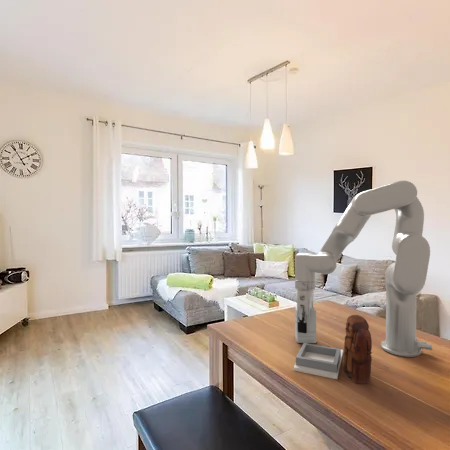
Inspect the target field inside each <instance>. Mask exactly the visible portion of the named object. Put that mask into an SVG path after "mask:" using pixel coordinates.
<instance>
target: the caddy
mask: <svg viewBox="0 0 450 450" xmlns="http://www.w3.org/2000/svg"><path fill="white" fill-rule="evenodd" d="M343 357H344V349H341V348H337V347H332V346H331V347H330V346H325V345H320V344H315V343H302V345H301V347H300V349H299V351H298V353H297V354H296V356H295V363H294V366H293V371H294V372H300V373H305V374H309V375H314V376H319V377H324V378H329V379H334V380H338V378H339V373H340V370H341V364H342V360H343Z"/></svg>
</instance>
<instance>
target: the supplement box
mask: <svg viewBox="0 0 450 450" xmlns="http://www.w3.org/2000/svg"><path fill="white" fill-rule="evenodd" d="M298 313H299V312H298ZM303 314H305V311H303ZM298 317H299V315H298V314H297V304H295V305H294V336H295V337H294V338H295V340H296V343H297V344H299V343H301V344H303V343H308V344H316V343H317V311H316V308H315V306H314V307H313V308H312V310H311V316H310V317H308V316H307V317H306V323H307V332H306V333H300V332H298Z"/></svg>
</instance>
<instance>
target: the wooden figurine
mask: <svg viewBox="0 0 450 450" xmlns="http://www.w3.org/2000/svg"><path fill="white" fill-rule="evenodd" d="M344 329H345V336H344V344H343V348H344V349H343V372H344V373H346V375H347V377H348V378H349V379H351V380H352V381H353V382H354V383H355V384H369V383H370V381H371V372H372V371H371V370H372V360H373V357H372V353H373V352H372V349H373V346H372V345H373V343H372V334H371V332H370V331H371V330H369V329H370V326H369V323H368V321H367V320H366V318H365V317H363V316H361V315H358V314H351V315H349V316H348V317H347V319H346V323H345V328H344Z"/></svg>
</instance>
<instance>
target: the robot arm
mask: <svg viewBox="0 0 450 450" xmlns="http://www.w3.org/2000/svg"><path fill="white" fill-rule="evenodd" d="M391 210H394V211H395V217H396V219H395V227H394V234H393V239H392V243H391V249H392V252H393V253H394V254H395V256H396V257H395V262H392V263H391V264H389V265H388V266H387V267H386V270H385V272H384V273H385V275H384V281H385V282H384V283H385V339H384V340H381V342H380V347H381V348H382V350H384V351H386V352H387V353H389V354H392V355H396V356H400V357H408V358H410V357H411V358H412V357H413V358H414V357H418V356H420V355H421V354H422V350H423V349H424V350H426V351H433V345H432V344H430V343H427V341H420V340H419V339H418V338H417V306H418V305H417V303H418V302H417V294H418V293H420V292H421V291H422V290H423V288H424V286H425V285H426V282H427V281H426V280H427V276H428V275H427V274H428V269H429V263H430V258H431V257H430V256H431V247H430V244H429V241H428V240H427V239H426V238H425V237H424V236H423V231H424V221H425V211H424V207H423V205H422V203H421V200H420V199H419V197H418V189H417V186H416V185H415V184H414V183H413V182H411V181H407V180H398V181H395V182H392V183H389V184H385V185H382V186H379V187H375V188H372V189H367V190H363V191H361V192H359V193H357V194H356V195H354V197H353V198H352V199H351V201H350V203H349V204H348V206H347V207H346V209H345V211H344V212H343V214H342V215H341V217H340V218H339V220H338V221H337V223H336V224H335V225H334V227H333V229H332V231H331V234H330V235H329V237H327V239H326V241H325V243H324V244H323V246H322V247H321V248H320V250H319V252H318V253H317V254H314V253H312V252H297V253H296V254H295V257H294V258H295V259H294V261H295V262H294V263H295V264H294V283H295V284H294V288H295V290H297V294H296V295H297V296H296V297H297V298H296V305H297V314H298V315H299V317H298V332H300V333H306V332H307V323H306V317H307V316H308V317H310V316H311V310H312V308H313V307H314V308H315V303H314V301H315V300H314V299H315V298H314V290H316V273H317V274H321V275H330V274H333V273H334V272H335V270H336V269H337V261H338V260H339V258H340V256H341V254H342V253H343V252H344V251H345V250H346V248H347V247H348V246H349V245H350V244H351V243H352V242H354V241H355V240H356V238H358V236H359V234H360V232H361V231H362V230H363V228H364V227H365V225H366V224H367V223H368V221H369V219H370V218H371V216H372V215H375V214H381V213H384V212H388V211H391ZM303 311H305V314H303ZM298 312H299V313H298Z"/></svg>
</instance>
